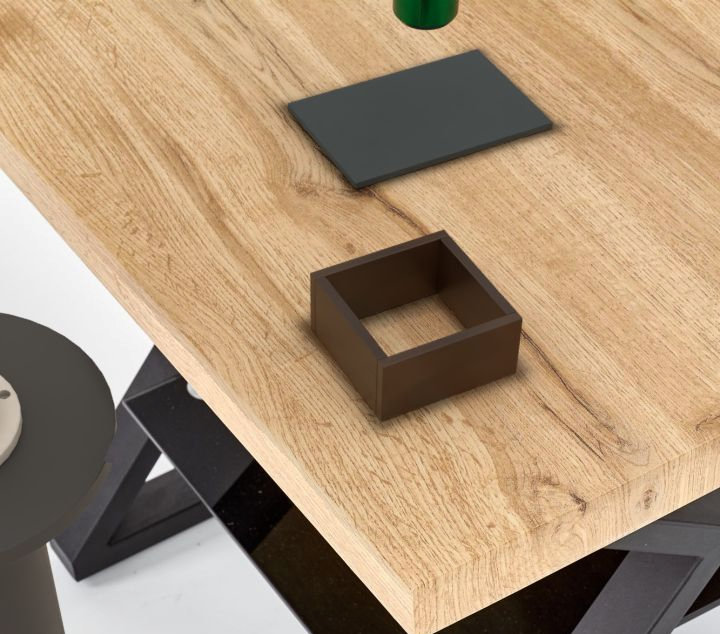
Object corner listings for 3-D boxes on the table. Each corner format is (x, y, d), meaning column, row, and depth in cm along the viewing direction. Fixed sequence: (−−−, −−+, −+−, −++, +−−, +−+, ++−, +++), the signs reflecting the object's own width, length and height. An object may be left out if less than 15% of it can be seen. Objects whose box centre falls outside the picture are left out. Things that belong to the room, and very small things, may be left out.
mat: (355, 189, 122) (355, 183, 121) (287, 109, 129) (287, 103, 128) (552, 128, 127) (553, 122, 127) (477, 54, 134) (477, 48, 134)
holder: (381, 422, 105) (383, 367, 101) (310, 327, 111) (309, 272, 108) (516, 373, 109) (523, 317, 105) (440, 283, 115) (444, 228, 111)
